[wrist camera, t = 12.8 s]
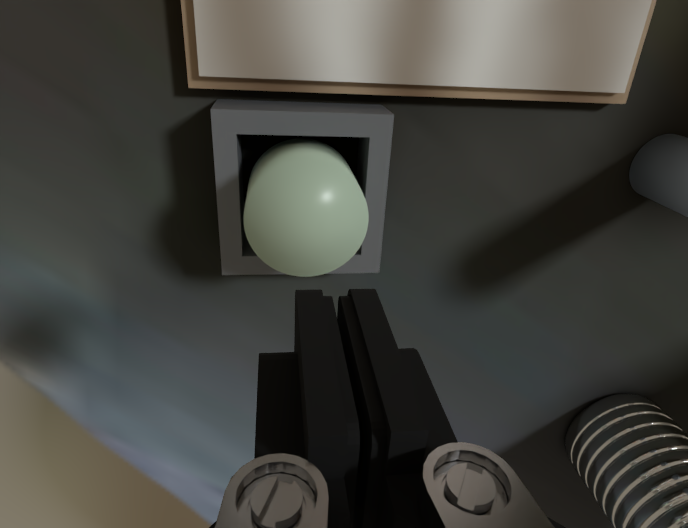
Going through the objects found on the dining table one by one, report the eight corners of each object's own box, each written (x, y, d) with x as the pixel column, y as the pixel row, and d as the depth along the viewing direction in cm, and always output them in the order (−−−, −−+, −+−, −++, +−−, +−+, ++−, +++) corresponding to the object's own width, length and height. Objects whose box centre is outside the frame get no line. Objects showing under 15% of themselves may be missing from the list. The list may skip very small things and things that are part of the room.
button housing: (381, 104, 21) (394, 114, 19) (369, 249, 24) (379, 272, 22) (217, 99, 20) (210, 109, 18) (227, 250, 23) (221, 274, 21)
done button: (357, 139, 20) (373, 161, 17) (351, 239, 22) (364, 275, 19) (245, 136, 19) (240, 158, 16) (249, 240, 22) (246, 277, 18)
